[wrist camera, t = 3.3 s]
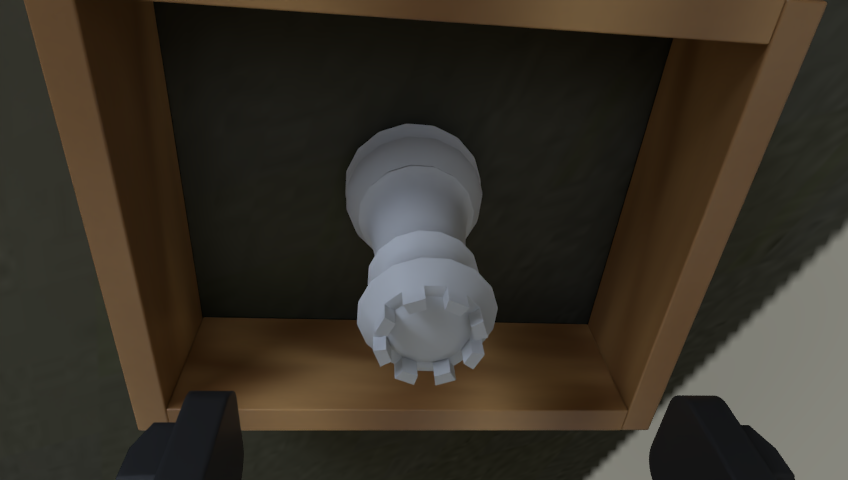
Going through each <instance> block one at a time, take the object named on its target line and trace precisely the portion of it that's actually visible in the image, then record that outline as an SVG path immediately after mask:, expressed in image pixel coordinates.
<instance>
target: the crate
mask: <svg viewBox="0 0 848 480" xmlns="http://www.w3.org/2000/svg"><path fill="white" fill-rule="evenodd" d="M153 1H155V2H169V3H183V4H197V5H211V6H225V7H240V8H254V9H268V10H282V11H296V12H310V13H324V14H339V15H353V16H367V17H381V18H395V19H409V20H423V21H437V22H452V23H466V24H480V25H494V26H508V27H522V28H536V29H551V30H565V31H579V32H593V33H607V34H621V35H635V36H650V37H664V38H673V41H672V44H671V47H670V51H669V54H668V57H667V61H666V64H665V67H664V71H663V74H662V78H661V81H660V84H659V88H658V91H657V94H656V98H655V101H654V104H653V108H652V111H651V114H650V118H649V121H648V125H647V128H646V131H645V135H644V138H643V141H642V145H641V148H640V151H639V155H638V158H637V161H636V165H635V168H634V172H633V175H632V178H631V182H630V185H629V188H628V192H627V195H626V198H625V202H624V205H623V209H622V212H621V215H620V219H619V222H618V225H617V229H616V232H615V235H614V239H613V242H612V245H611V249H610V252H609V256H608V259H607V262H606V266H605V269H604V272H603V276H602V279H601V282H600V286H599V289H598V293H597V296H596V299H595V303H594V306H593V309H592V313H591V316H590V319H589V323H588V325H587V324H548V323H494V328H493V330H492V331H491V333H490V334H489V335H488V338H486V339H485V341H484V342H483V343H482V345H483V349H484V354H485V355H484V356H483V358H482V359H481V360H480V361H479V363H478V364H477V365H476V367H475V368H474V369H472V368H470V367H468V366H467V365H465V364H464V362H463V360H462V361H461V362H459V363H457V364H456V365H454V370H455V377H456V380H455V381H451V382H447V383H443V384H439V385H435V378H434V371H417V374H418V376H417V379H416V381H415V384H414V385H413V384H410V383H407V382H404V381H401V380H398V379H395V373H394V364H393V363H391V362H390V363H387V364H385V365H383V366H381V367H380V365H379V363H378V361H377V359H376V357H375V354H374V352H373V349H372V348H371V347H370V346H368V345H367V344H366V342H365V340H364V338H363V336H362V334H361V332H360V329H359V327H358V325H357V320H329V319H275V318H220V317H204V318H203V317H202V311H201V304H200V298H199V292H198V285H197V279H196V273H195V266H194V260H193V253H192V247H191V241H190V234H189V228H188V222H187V215H186V209H185V202H184V196H183V190H182V183H181V177H180V170H179V164H178V158H177V151H176V145H175V139H174V132H173V126H172V119H171V113H170V107H169V100H168V94H167V88H166V81H165V75H164V68H163V62H162V56H161V49H160V43H159V37H158V30H157V24H156V17H155V11H154V5H153ZM24 3H25V7H26V10H27V14H28V18H29V22H30V25H31V29H32V33H33V37H34V40H35V44H36V48H37V52H38V55H39V59H40V63H41V67H42V70H43V74H44V78H45V82H46V85H47V89H48V93H49V97H50V100H51V104H52V108H53V112H54V115H55V119H56V123H57V127H58V130H59V134H60V138H61V142H62V145H63V149H64V153H65V156H66V160H67V164H68V168H69V171H70V175H71V179H72V183H73V186H74V190H75V194H76V198H77V201H78V205H79V209H80V213H81V216H82V220H83V224H84V228H85V231H86V235H87V239H88V243H89V246H90V250H91V254H92V258H93V261H94V265H95V269H96V273H97V276H98V280H99V284H100V288H101V291H102V295H103V299H104V303H105V306H106V310H107V314H108V318H109V321H110V325H111V329H112V332H113V336H114V340H115V344H116V347H117V351H118V355H119V359H120V362H121V366H122V370H123V374H124V377H125V381H126V385H127V389H128V392H129V396H130V400H131V404H132V407H133V411H134V415H135V419H136V422H137V426H138V430H147V429H148V428H149V427H150V426H151V425H152V424H153V423H154V422H176V420H177V417H178V415H179V412H180V409H181V407H182V404H183V402H184V399H185V397H186V395H187V393H188V392H189V391H234V392H235V393H236V397H237V404H238V411H239V418H240V426H241V430H621V429H622V430H648V429H649V426H650V424H651V421H652V419H653V417H654V414H655V412H656V410H657V407H658V405H659V402H660V400H661V398H662V395H663V393H664V391H665V388H666V386H667V383H668V381H669V379H670V376H671V374H672V372H673V369H674V367H675V364H676V362H677V360H678V357H679V355H680V353H681V350H682V348H683V345H684V343H685V341H686V338H687V336H688V334H689V331H690V329H691V326H692V324H693V322H694V319H695V317H696V315H697V312H698V310H699V307H700V305H701V303H702V300H703V298H704V296H705V293H706V291H707V288H708V286H709V284H710V281H711V279H712V277H713V274H714V272H715V269H716V267H717V265H718V262H719V260H720V258H721V255H722V253H723V250H724V248H725V246H726V243H727V241H728V239H729V236H730V234H731V231H732V229H733V227H734V224H735V222H736V220H737V217H738V215H739V212H740V210H741V208H742V205H743V203H744V201H745V198H746V196H747V193H748V191H749V189H750V186H751V184H752V182H753V179H754V177H755V174H756V172H757V170H758V167H759V165H760V163H761V160H762V158H763V155H764V153H765V151H766V148H767V146H768V144H769V141H770V139H771V136H772V134H773V132H774V129H775V127H776V125H777V122H778V120H779V117H780V115H781V113H782V110H783V108H784V106H785V103H786V101H787V98H788V96H789V94H790V91H791V89H792V87H793V84H794V82H795V79H796V77H797V75H798V72H799V70H800V68H801V65H802V63H803V60H804V58H805V56H806V53H807V51H808V49H809V46H810V44H811V41H812V39H813V37H814V34H815V32H816V30H817V27H818V25H819V22H820V20H821V18H822V15H823V13H824V11H825V8H826V6H827V2H825V1H823V0H24Z"/></svg>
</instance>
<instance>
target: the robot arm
mask: <svg viewBox="0 0 848 480" xmlns="http://www.w3.org/2000/svg"><path fill="white" fill-rule="evenodd" d="M243 458H244V451H243V441H242V433H241V426H240V418H239V411H238V404H237V397H236V393H235V392H234V391H189V392H188V393H187V395H186V397H185V399H184V402H183V404H182V407H181V409H180V412H179V415H178V417H177V420H176V422H154V423H153V424H152V425H151V426H150V427H149V428H148V429H147V430H146V431H145V432H144V433H143V434H142V435H141V436H140V437H139V438H138V440H137V441H136V442H135V443H134V444H133V445H132V446H131V447H130V448H129V450H128V452H127V455H126V457H125V459H124V461H123V463H122V466H121V468H120V470H119V472H118V475H117V477H116V480H241V478H242V471H243ZM649 465H650V472H651V476H652V479H653V480H795V479H794V474H793V473H792V471H791V470H790V468H789V467H788V465H787V464H786V463H785V461H784V460H783V458H782V457H781V456H780V454H779V453H778V451H777V450H776V448H774V447H773V446H772V445H771V444H770V443H769V442H767V441H766V440H765V439H764V438H763V437H762V436H760V434H758V433H757V432H756V431H755V430H753V428H751V427H750V426H749V425H740V423H739V422H738V420H737V419H736V418H735V416H734V415H733V413H732V411H731V410H730V408H729V407H728V405H727V404H726V403H725V401H723V400H722V399H721V398H720V397H717V396H675V397H673V398H672V400H671V401H670V403H669V405H668V408H667V410H666V413H665V415H664V417H663V420H662V422H661V424H660V427H659V429H658V432H657V434H656V437H655V439H654V441H653V443H652V446H651V449H650V455H649Z"/></svg>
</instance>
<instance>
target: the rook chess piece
mask: <svg viewBox="0 0 848 480" xmlns="http://www.w3.org/2000/svg"><path fill="white" fill-rule="evenodd" d="M480 182H481V180H480V176H479V172H478V169H477V165H476V161H475V158H474V156H473V155H472V154H471V153H470V151H469V150H468V149H467V148H466V147H465V145H464V144H463V143H462V142H461V141H460V140H459V138H457V137H455V136H453V135H451V134H449V133H447V132H445V131H443V130H441V129H439V128H437V127H435V126H430V125H418V124H403V125H400V126H396V127H393V128H390V129H387V130H383V131H380V132H378V133H377V134H376V135H374V136H373V137H372V138H371V139H370V140H368V141H367V142H366V143H365V144H363V145H362V146H361V147H360V148H358V150H357V152H356V154H355V156H354V158H353V159H352V161H351V163H350V165H349V167H348V169H347V171H346V190H345V196H346V199H347V200H346V209H347V212H348V214H349V216H350V219H351V221H352V223H353V226H354V228H355V231H356V232H357V234H358V236H359V237H360V238H361V239H362V240H364V241H365V242H366V243H367V244H368V245H369V246H370V247H371V248H372V249H373V251H374V255H375V257H374V259H373V260H372V262H371V264H370V265H369V272H368V286H367V288H366V290H365V292H364V293H363V295H362V297H361V298H360V300H359V302H358V314H357V325H358V327H359V329H360V332H361V334H362V336H363V338H364V340H365V342H366V344H367V345H368V346H370V347H371V348H372V349H373V352H374V354H375V357H376V359H377V361H378V363H379V365H380V367H381V366H383V365H385V364H387V363H390V362H391V363H393V364H394V373H395V379H398V380H401V381H404V382H407V383H410V384H413V385H414V384H415V381H416V379H417V376H418V374H417V371H434V378H435V385H439V384H443V383H447V382H451V381H455V380H456V377H455V370H454V365H456V364H457V363H459V362H461V361H462V360H463V362H464V364H465V365H467V366H468V367H470V368H472V369H474V368H475V367H476V365H477V364H478V363H479V361H480V360H481V359H482V358H483V356H484V355H485V354H484V349H483V345H482V343H483V342H484V341H485V339H486V338H488V335H489V334H490V333H491V331H492V330H493V328H494V323H495V319H496V314H497V310H498V307H497V303H496V300H495V296H494V293H493V289H492V287H491V286H490V284H489V283H488V282H487V281H486V280H485V279H484V278H483V277H482V276H481V275H480V274H479V273H478V272H479V271H478V268H477V265H476V261H475V258H474V255H473V254H472V252H471V251H470V250H469V249H468V248H467V247H466V246H465V242H466V238H467V236H468V235H469V233H470V232H471V230H472V229H473V227H474V226H475V224H476V223H477V221H478V217H479V211H480V205H481V200H482V194H483V193H482V189H481V185H480Z"/></svg>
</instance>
